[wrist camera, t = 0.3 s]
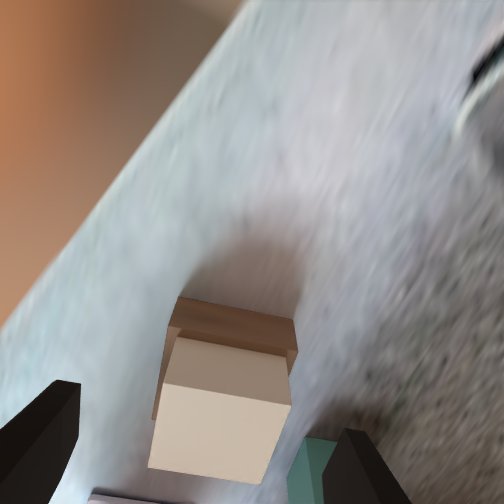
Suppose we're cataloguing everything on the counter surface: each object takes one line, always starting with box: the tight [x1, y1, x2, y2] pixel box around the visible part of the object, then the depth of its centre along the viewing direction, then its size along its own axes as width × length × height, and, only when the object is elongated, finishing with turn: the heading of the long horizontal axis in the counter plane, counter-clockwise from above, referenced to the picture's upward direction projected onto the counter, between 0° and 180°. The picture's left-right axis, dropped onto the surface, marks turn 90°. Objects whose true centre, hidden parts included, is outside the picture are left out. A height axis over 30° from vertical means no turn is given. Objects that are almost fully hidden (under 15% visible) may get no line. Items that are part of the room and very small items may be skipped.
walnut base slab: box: [152, 297, 298, 420], centre depth 20 cm, size 6×6×3 cm
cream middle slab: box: [148, 337, 292, 485], centre depth 18 cm, size 6×6×3 cm
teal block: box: [287, 437, 338, 504], centre depth 24 cm, size 4×4×4 cm
